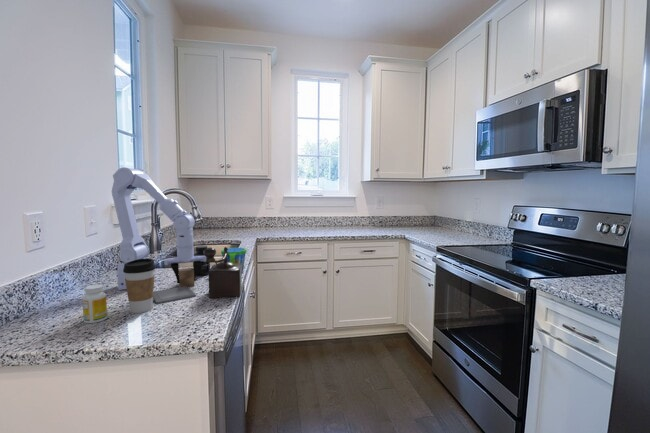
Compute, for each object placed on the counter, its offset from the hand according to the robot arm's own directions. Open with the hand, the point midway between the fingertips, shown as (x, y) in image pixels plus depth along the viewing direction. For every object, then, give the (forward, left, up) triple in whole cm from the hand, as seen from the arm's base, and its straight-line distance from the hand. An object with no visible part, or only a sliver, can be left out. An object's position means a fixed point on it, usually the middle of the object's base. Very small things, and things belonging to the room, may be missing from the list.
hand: (186, 281), depth 121 cm
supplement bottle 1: (-25, -23, -2) cm, 34 cm away
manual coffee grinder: (+11, -18, -2) cm, 21 cm away
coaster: (-5, -10, -1) cm, 11 cm away
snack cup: (+20, +11, -2) cm, 23 cm away
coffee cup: (-14, -20, -2) cm, 24 cm away
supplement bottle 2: (+7, +14, -2) cm, 16 cm away
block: (0, 0, -1) cm, 1 cm away
